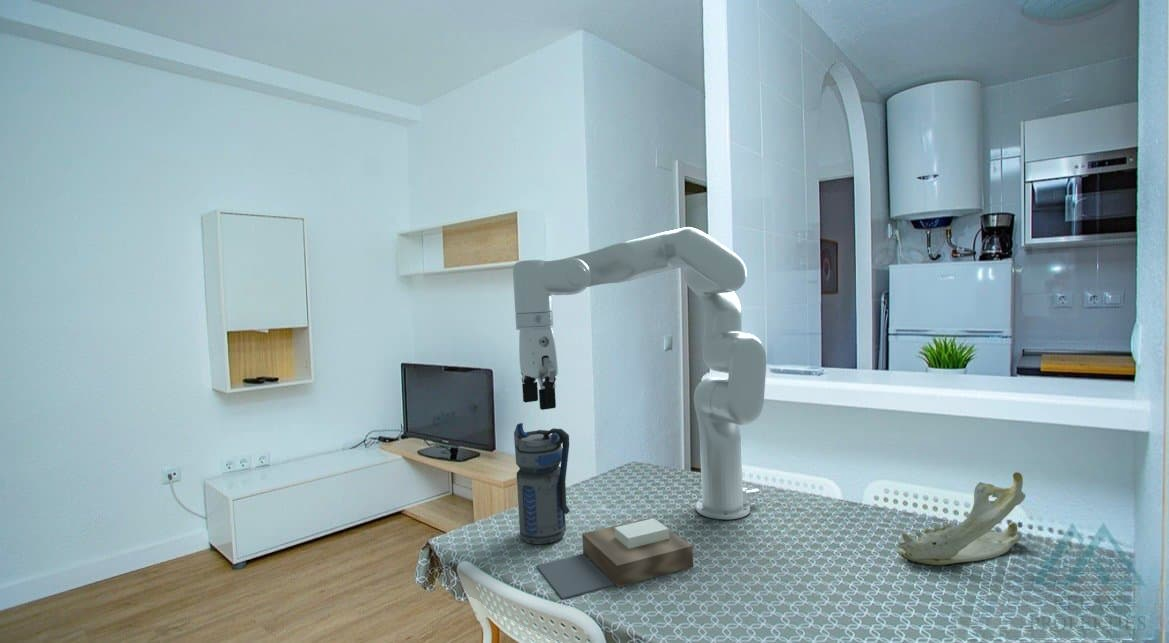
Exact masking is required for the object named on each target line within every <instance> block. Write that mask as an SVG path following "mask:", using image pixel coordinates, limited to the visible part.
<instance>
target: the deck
mask: <svg viewBox="0 0 1169 643" xmlns="http://www.w3.org/2000/svg"><path fill="white" fill-rule="evenodd" d="M649 519H652V518H651V517H648V518H644V519H638V520H636V521H630V522H627V523H622V524H618V525H613V526H609V527H605V528H600V529H596V530H593V531H592V530H591V531H588V532H583V533H581V534H582V535H581V538H582V554H584V555H585V556H586V555H587V556H586V557H587V558H588V559H589V560H590V561H591V562H592V563H593V564H594V565H595V566H596V567H597V568H598V569H599V570H600V571H601V572H602V573H603V574H604V575H605V576H606V577H607V578H608V579H609V580H610V581H612V582H613V583H614V585H615V586H616V587H617V588H621V587H625V586H628V585H632V584H635V583H638V582H642V581H646V580H651V579H654V578H657V577H661V576H665V575H667V574H671V573H675V572H678V570H679V571H682V570H685V569H688V568H692V567H694V559H693V557H694V556H693V554H694V553H693V545H692V544H690V543H689V542H688V541H685V540H684V539H683V538H681V537H680V536H678V535H677V534H675V533H674V532H672V531H670V530H669V539H665V540H662V541H658V542H654V543H650V544H646V545H642V546H638V547H634V548H630V549H629V548H627V547H626V546H625V545H624V544H623V543H621V542H620V541H619V540H618V539H616V538H615V530H614V527H618V526H623V525H627V524H631V523H636V522H640V521H644V520H649ZM674 571H675V572H674Z"/></svg>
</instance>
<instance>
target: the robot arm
mask: <svg viewBox="0 0 1169 643" xmlns="http://www.w3.org/2000/svg"><path fill="white" fill-rule="evenodd" d="M680 268H682V269H683V268H684V271H683V277H684V280H685V284H686V285H687V287H688V288H689V289H690V290H691V291H692V292H693V293H694V294H695V295H696V296H697V297H698V298H699V301H700V302H701V304H702V308H703V312H704V329H703V340H702V341H703V343H702V361H703V363H704V365H705V367H707V368H708V369H709V370H712V371H714V372H719V373H723V374H724V373H725V374H728V376H727V377H728V378H724V377H717V376H714V377H712V376H711V377H707V378H704V379H703V380H701V381H700V382H699V383H698V384H697V385H696V388H695V390H694V393H693V403H694V409H695V414H696V418H697V424H698V436H699V452H700V453H699V455H700V456H699V457H700V477H701V478H700V479H701V498H700V499H699V500H698V501H696V503H695V510H696V511H697V513H699V515H702V516H704V517H707V518H710V519H716V520H736V519H740V518H741V519H742V518H744V517H746V516H748V515H749V514H750V512H751V504H750V503H748V501H749V500H750V499H751V498H752V499H753V498H756V497H757V498H758V497H760V494H761V493H760V490H759V489H758V488H753V489H748V488H747V487H744V485H743V484H744V482H743V466H742V464H743V463H742V462H743V461H742V460H743V459H742V458H743V456H742V437H741V431H740V427H739V426H747V425H748V426H749V425H751V424H753V423H754V422H756V421H757V420H758V418H759V417H760V416H761V414H762V411H763V408H764V402H765V401H764V400H765V391H766V390H765V389H766V374H767V372H766V371H767V354H766V348H765V346H764V345H763V342H761V340H760V339H759V338H758V337H756V336H755V335H753V334H751V333H745V332H742V307H741V303H740V299H739V298H738V296H737V294H736V293H735V292H736V291H738V290H739V289H741V288H742V287H743V286H744V284H745V283H746V280H747V267H746V265H745V263H744V261H743V259H742V258H741V257H740V256H738V255H737V254H736V253H735V252H733V251H732V250H731V249H729V248H728V247H726V246H724V245H723V244H721V243H720V242H719V241H717V240H716V239H715V238H713V237H712V236H710V235H709V234H707V233H705V232H704V231H702V230H699V229H697V228H694V227H690V226H687V227H686V226H685V227H682V228H678V229H673V230H669V231H663V232H659V233H655V234H651V235H647V236H643V237H639V238H634V239H631V240H626V241H621V242H617V243H615V244H611V245H609V246H608V245H607V246H605V247H603V248H599V249H597V250H593V251H590V252H589V251H588V252H586V253H582V254H578V255H574V256H570V257H566V258H561V259H556V260H554V259H553V260H541V259H529V260H527V259H526V260H520V261H517V262H515V263H514V264H513V267H512V279H513V300H514V312H515V313H514V314H515V330H516V331H518V332H519V333H518V334H519V337H518V339H519V341H518V343H519V345H518V349H519V351H518V352H519V356H518V357H519V367H520V374H521V385H522V386H521V387H522V401H523V403H530V402H531V403H532V402H537V401H538V400H539V401H538V402H539V409H540V410H542V411H544V410H551V409H555V408H556V407H557V401H556V400H557V399H556V381H557V378H556V376H558V374H559V369H558V368H559V367H558V360H557V358H558V357H557V349H556V341H555V340H556V339H555V336H554V331H553V328H554V316H553V315H554V314H553V300H552V299H553V296H568V295H569V296H571V295H576V294H580V293H582V292H583V291H585V290H586V289H587V288H589V287H594V286H599V285H607V284H619V283H626V282H630V281H634V280H637V279H640V278H641V279H642V278H644V277H648V276H652V275H656V274H659V273H660V274H661V273H663V272H667V271H670V270H675V269H680ZM552 295H553V296H552ZM536 380H537V381H538V382H537V381H536ZM538 384H539V385H538ZM538 386H539V387H540V389H538Z"/></svg>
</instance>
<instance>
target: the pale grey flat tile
mask: <svg viewBox="0 0 1169 643" xmlns="http://www.w3.org/2000/svg"><path fill="white" fill-rule="evenodd" d="M614 530H615V538H616V539H618V540H619V541H620V542H621V543H623V544H624V545H625V546H626V547H627V548H629V549H630V548H634V547H638V546H642V545H646V544H650V543H654V542H658V541H662V540H665V539H669V531H670V528H669V527H667V526H666V525H664V524H663V523H661V522H660V521H658V520H656V519H655V518H651V519H649V520H644V521H640V522H636V523H631V524H627V525H623V526H618V527H614Z"/></svg>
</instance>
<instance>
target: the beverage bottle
mask: <svg viewBox="0 0 1169 643" xmlns="http://www.w3.org/2000/svg"><path fill="white" fill-rule="evenodd" d="M523 424H524V423H523V422H520V423H517V424H516V426H515V430H514V433H513V438H514V439H513V440H514V452H515V453H514V454H515V464H516V466H517V467H518V468H519V470H518V471H516V487H517V488H516V489H517V502H518V503H517V506H518V508H517V509H518V521H519V522H518V523H519V525H518V526H519V535H520V536H521V538H522V540H524V541H525V542H526V543H530V544H534V545H545V544H546V543H547V544H551V543H554V542H557V541H559V540H560V539H562V538H563V537H564V535H565V532H566V530H567V526H566V522H567V521H566V515H567V514H568V513H570V512H571V510H570V509H569V507H568V506H567V489H566V487H567V486H566V481H567V480H566V479H567V469H568V461H569V450H570V435H569V434H568V433H567V432H566V431H565V430H564V429H562V428H554V427H553V428H551V429H550V430H545V429H537V430H532V431H525V430H524V426H523ZM547 544H546V545H547Z"/></svg>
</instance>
